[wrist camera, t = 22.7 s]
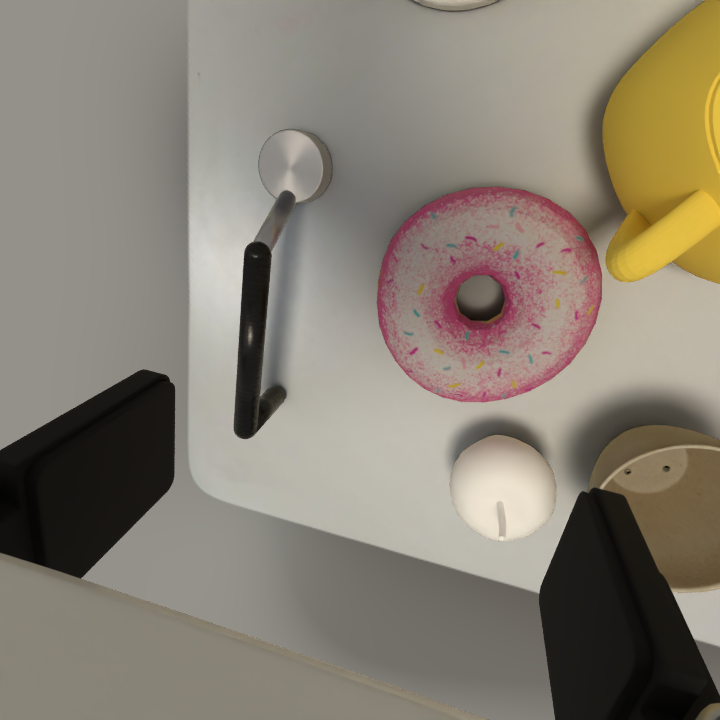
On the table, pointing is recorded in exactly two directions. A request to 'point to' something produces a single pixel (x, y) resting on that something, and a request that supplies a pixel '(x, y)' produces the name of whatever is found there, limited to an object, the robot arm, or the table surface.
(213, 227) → the table surface
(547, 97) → the table surface
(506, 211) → the donut
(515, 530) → the apple
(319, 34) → the table surface
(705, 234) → the teapot
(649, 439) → the flower pot
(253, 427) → the ladle
